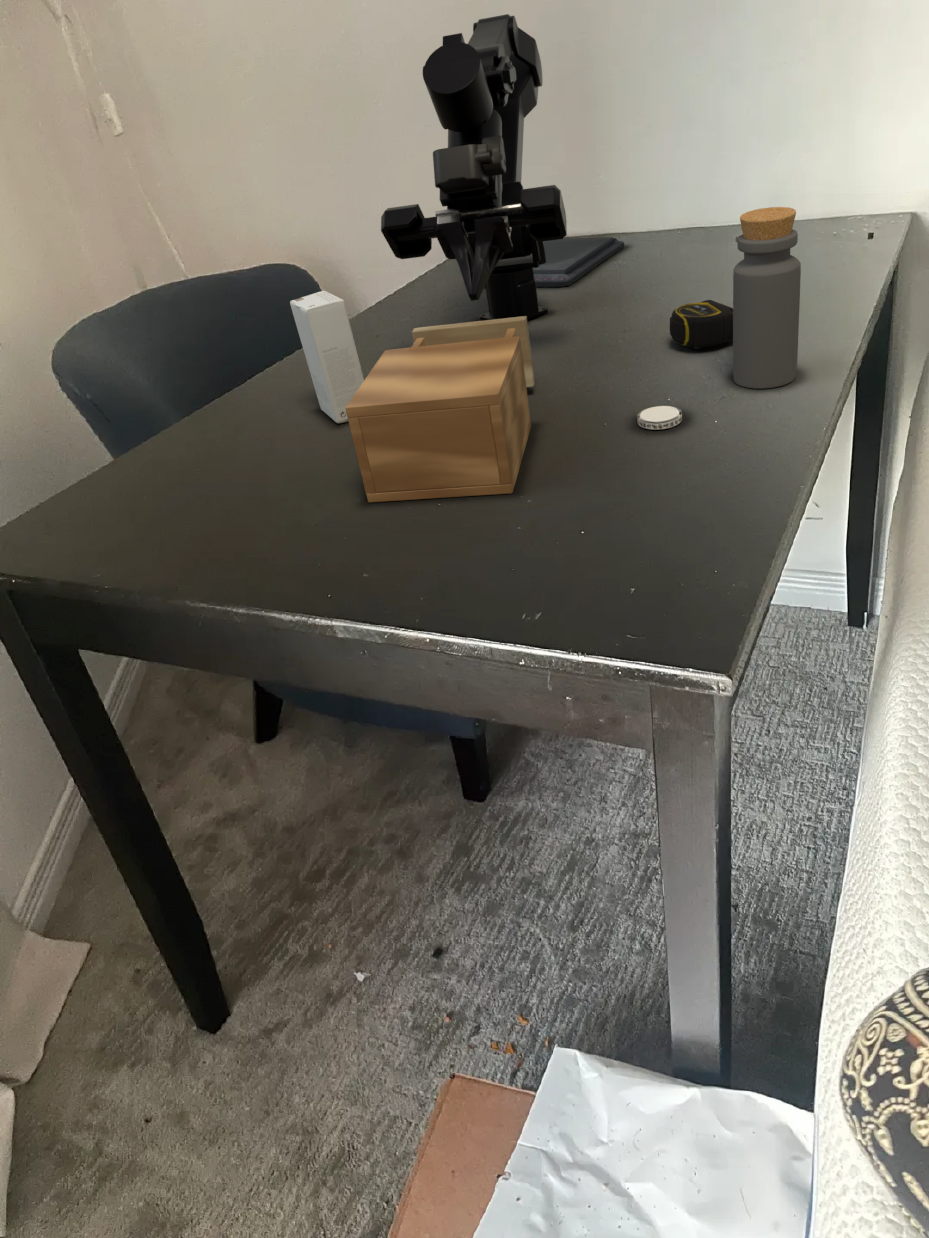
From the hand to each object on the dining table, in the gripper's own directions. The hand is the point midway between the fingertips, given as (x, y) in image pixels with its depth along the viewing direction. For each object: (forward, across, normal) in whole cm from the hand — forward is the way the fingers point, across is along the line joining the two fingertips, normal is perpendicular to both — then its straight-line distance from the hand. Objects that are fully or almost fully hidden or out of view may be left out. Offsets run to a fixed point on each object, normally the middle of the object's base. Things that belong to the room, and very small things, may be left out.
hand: (473, 298), depth 96 cm
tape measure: (+2, +23, +11) cm, 26 cm away
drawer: (+11, 0, 0) cm, 11 cm away
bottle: (+10, +28, +3) cm, 30 cm away
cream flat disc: (+16, +18, -3) cm, 25 cm away
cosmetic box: (+10, -15, +3) cm, 18 cm away
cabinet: (+20, 0, -8) cm, 22 cm away
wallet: (-25, +3, +39) cm, 47 cm away
